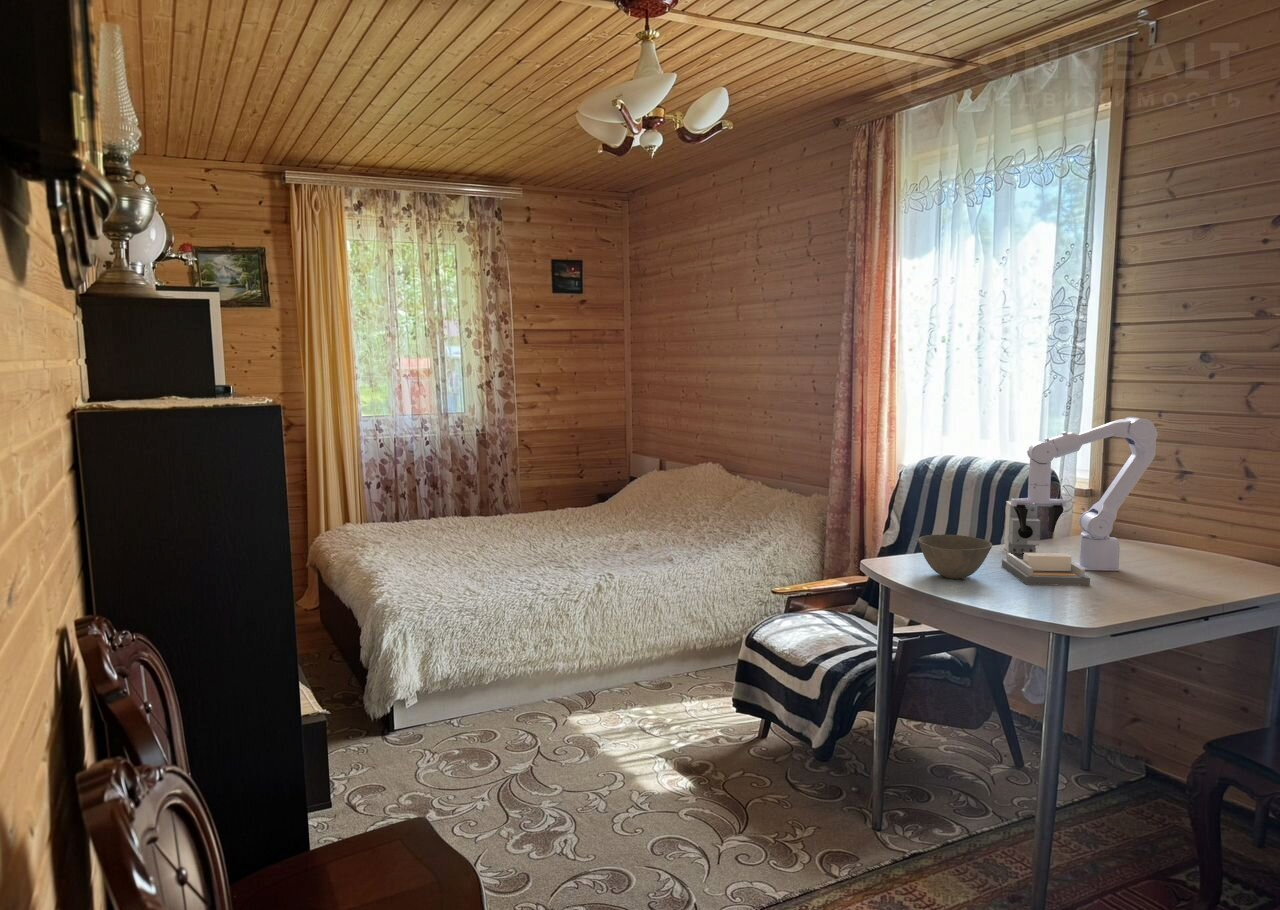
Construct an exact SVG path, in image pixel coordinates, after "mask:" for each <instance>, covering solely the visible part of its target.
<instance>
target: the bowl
mask: <svg viewBox="0 0 1280 910" xmlns="http://www.w3.org/2000/svg"><path fill="white" fill-rule="evenodd" d="M917 542H918V544H919V547H920V550H921V552H922V555H923V557H924V559H925V561H926V562H927V564H928V565H929V566H930V568H931V569H932V570H933V571H934V572H935V573H936V574H938V575H940V576H941V577H944V578H947V579H953V580H957V579H958V580H961V579H967V578H968V577H971V576H972V575H973V574H975V573H976V572H977V571H978V570H979V568H980V567H981V566H982V565H983V564H984V562H985V560H986V558H987V557H988V555H989V553H990V551H991V549H992V547H993V543H992V542H991V541H990V540H989V541H988V540H986V539H983V538H980V537H979V538H978V537H973V536H970V535H969V536H968V535H960V534H945V533H944V534H943V533H942V534H928V535H927V534H926V535H923V536H920V537H918V539H917Z"/></svg>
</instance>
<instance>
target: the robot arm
mask: <svg viewBox="0 0 1280 910" xmlns="http://www.w3.org/2000/svg"><path fill="white" fill-rule="evenodd" d="M1158 435H1159V433H1158V431H1157V428H1156V427H1155V424H1154V423H1153V422H1152V421H1151V420H1149V419H1146V418H1139V417H1137V416H1128V417H1125V418H1121V419H1120V418H1119V419H1116V420H1113V421H1110V422H1107V423H1104V424H1102V425H1099V426H1096V427H1093V428H1090V429H1088V430H1086V431H1083V432H1081V433H1075V432H1073V431H1069V432H1068V431H1062V432H1061V435H1058V436H1053V437H1051V438H1049V437H1045V438H1044V439H1043V441H1044V442H1043V441H1035V442H1033V443H1032V444H1031V445H1029V447H1028V450H1027V451H1026V453H1027V456H1028V457H1029V467H1028V485H1027V486H1028V488H1027V497H1023V498H1022V497H1020V498H1019V497H1018V498H1010V501H1011V505H1012V506H1014V509H1015V511H1016V513H1017V516H1018V519H1019V522H1020V527H1021V531H1023V532H1026V518H1027V512H1028V509H1026V507H1025V506H1038V507H1048V532H1051V533H1054V531H1055V528H1056V525H1057V523H1058V522H1059V521H1058V520H1059V518H1060V517H1061V515H1062V514H1063V513H1064V508H1067V499H1064V498H1051V482H1052V481H1051V479H1052V461H1053V460H1054V459H1058V458H1060V457H1063V456H1067V455H1070V454H1073V453H1076V452H1079V451H1080V450H1081V448H1082V447H1083V445H1087V444H1090V443H1093V442H1096V441H1100V440H1104V439H1108V438H1110V437H1118V438H1124V439H1125V441H1126V442H1127V443H1128V446H1129V449H1130V452H1131V453H1130V454H1131V455H1129V457H1128V459H1127V460H1126V462H1125V463H1124V464H1123V466H1122V467H1121V469H1120V471H1119V472H1118V473H1117V475H1115V477H1114V478H1113V480H1112V482H1111V483H1110V485H1109V486H1108V487H1107V489H1106V490H1105V492H1104V493H1103V495H1102V496H1101V498H1100V499H1099V501H1097V502H1095V503H1094V504H1093V505H1092V506H1091V507H1090V508H1089V510H1087V511H1085V512H1084V513H1082V514H1081V515H1080V517H1079V521H1078V522H1079V526H1080V528H1081V529H1082V531H1081V533H1080V541H1079V542H1080V543H1079V561H1074V562H1073V563H1075V564H1076V565H1078V566H1080V567H1082V568H1083V569H1085V571H1105V572H1106V571H1110V572H1111V571H1112V572H1114V571H1116V572H1117V571H1121V569H1120V567H1119V566H1120V552H1121V551H1120V549H1121V548H1120V542H1119V540H1118V539H1117V538H1116V537H1113V536H1110V535H1111V533H1112V531H1113V529H1114V528H1113V527H1114V523H1115V521H1116V520H1117V515H1118V511H1119V509H1120V507H1121V506H1122V505H1123V503H1124V502H1125V501H1126V499H1127V498H1128V496H1129V495H1130V493H1131V492H1132V490H1133V489H1134V488H1135V486H1136V485H1137V483H1138V482H1139V481H1140V479H1141V477H1142V476H1143V475H1144V473H1145V472H1146V471H1147V469H1148V468H1149V466H1150V465H1151V463H1152V462H1153V461H1154V459H1155V457H1156V452H1157V451H1156V449H1157V448H1156V447H1157V439H1158V438H1157V437H1158ZM1033 503H1034V504H1033Z"/></svg>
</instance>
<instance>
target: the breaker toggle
mask: <svg viewBox="0 0 1280 910" xmlns="http://www.w3.org/2000/svg"><path fill="white" fill-rule="evenodd" d="M1022 556H1023V562H1024V563H1026V564H1027V565H1029V566H1030V567H1032V568H1033V571H1071V562H1072V559H1073V558H1072V556H1071V555H1070V554H1069V553H1066V552H1065V553H1063V552H1061V553H1060V552H1059V553H1058V552H1054V553H1053V552H1036V553H1024V554H1022Z"/></svg>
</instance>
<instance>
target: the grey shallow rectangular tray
mask: <svg viewBox="0 0 1280 910" xmlns="http://www.w3.org/2000/svg"><path fill="white" fill-rule="evenodd" d="M1006 553H1007V554H1006V558H1002V559H1001V567H1002V568H1004V569H1005V570H1006V569H1007V570H1006V571H1008V572H1009V573H1010V572H1011V573H1010V574H1012V575H1015V576H1014V577H1016V578H1017V579H1018V578H1019V579H1018V580H1020V581H1021V582H1022V581H1023V582H1022V583H1024V584H1025V585H1043V584H1058V585H1057V586H1091V577H1090V576H1087V575H1086V570H1085V569H1083V568H1082V567H1080V566H1078V565H1076V564H1075V563H1074V562H1073V561H1071V571H1033V568H1032V567H1030V566H1029V565H1027V564H1026V563H1024V562H1023V559H1020V558H1018V557H1017V556H1016V555H1015V554H1011V553H1008V552H1006Z"/></svg>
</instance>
